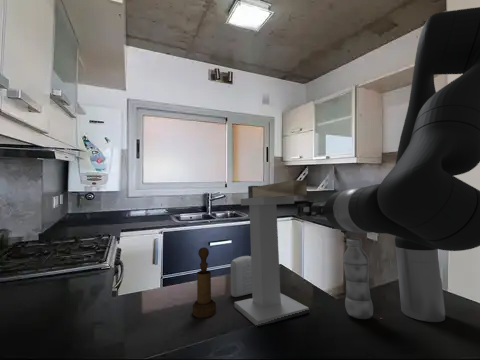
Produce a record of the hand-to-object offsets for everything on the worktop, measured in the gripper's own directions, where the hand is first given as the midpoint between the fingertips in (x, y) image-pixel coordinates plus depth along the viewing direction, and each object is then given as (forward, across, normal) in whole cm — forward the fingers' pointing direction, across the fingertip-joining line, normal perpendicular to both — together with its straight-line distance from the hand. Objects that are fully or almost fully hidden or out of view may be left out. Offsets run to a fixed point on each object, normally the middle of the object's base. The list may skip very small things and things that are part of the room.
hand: (321, 212), depth 58 cm
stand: (+16, +9, +28) cm, 33 cm away
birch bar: (+11, +10, -4) cm, 15 cm away
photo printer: (+31, +15, +28) cm, 44 cm away
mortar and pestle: (+17, +27, +30) cm, 44 cm away
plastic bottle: (+10, -14, +26) cm, 31 cm away
